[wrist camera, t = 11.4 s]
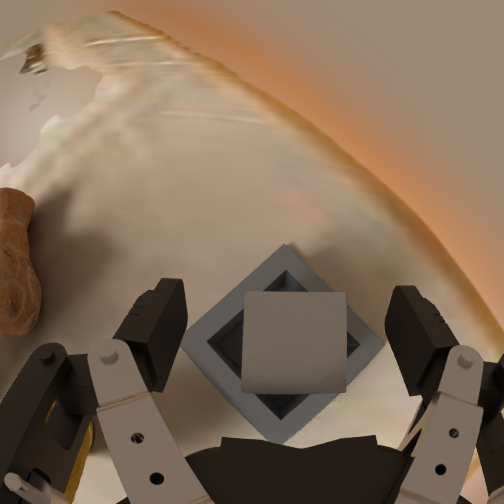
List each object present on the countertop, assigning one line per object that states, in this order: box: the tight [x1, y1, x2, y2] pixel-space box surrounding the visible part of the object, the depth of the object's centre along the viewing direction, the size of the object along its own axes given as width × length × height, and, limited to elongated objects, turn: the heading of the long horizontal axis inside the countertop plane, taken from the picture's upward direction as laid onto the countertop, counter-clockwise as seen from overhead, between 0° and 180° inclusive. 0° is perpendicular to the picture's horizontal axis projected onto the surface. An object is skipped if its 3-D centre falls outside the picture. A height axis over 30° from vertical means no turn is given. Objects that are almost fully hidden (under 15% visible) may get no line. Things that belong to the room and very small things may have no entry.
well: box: [180, 244, 385, 445], centre depth 20 cm, size 12×12×5 cm
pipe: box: [0, 187, 42, 336], centre depth 22 cm, size 9×16×10 cm, turn 29°
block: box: [241, 291, 347, 394], centre depth 16 cm, size 4×4×12 cm
